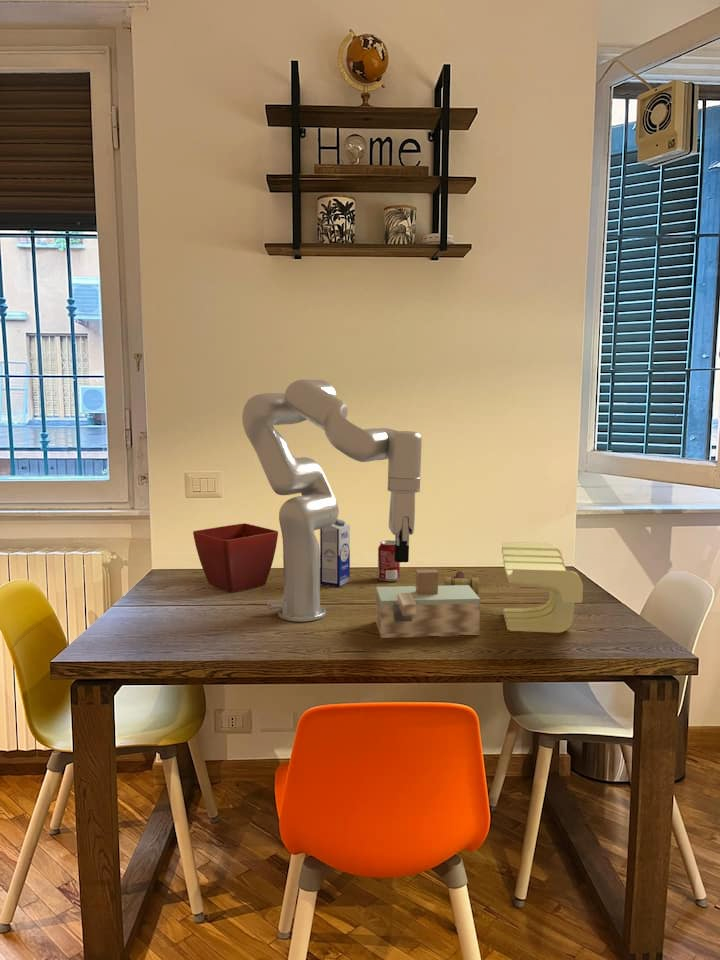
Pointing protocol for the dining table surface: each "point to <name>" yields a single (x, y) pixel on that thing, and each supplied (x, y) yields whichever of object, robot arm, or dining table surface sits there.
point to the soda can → (387, 562)
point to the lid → (429, 591)
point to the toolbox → (428, 620)
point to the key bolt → (406, 604)
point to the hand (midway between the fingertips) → (401, 561)
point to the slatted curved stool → (543, 570)
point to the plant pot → (236, 555)
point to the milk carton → (335, 554)
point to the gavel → (462, 581)
